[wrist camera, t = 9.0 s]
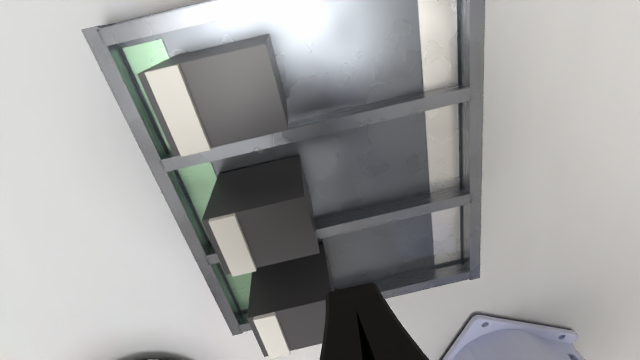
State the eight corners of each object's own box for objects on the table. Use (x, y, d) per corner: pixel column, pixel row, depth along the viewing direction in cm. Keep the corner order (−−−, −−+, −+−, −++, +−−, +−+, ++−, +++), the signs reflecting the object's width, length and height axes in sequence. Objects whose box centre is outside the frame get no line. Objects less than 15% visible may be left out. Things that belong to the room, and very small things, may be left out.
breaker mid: (299, 155, 16) (304, 199, 13) (311, 203, 18) (320, 256, 14) (218, 174, 16) (200, 223, 13) (236, 221, 18) (225, 278, 14)
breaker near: (269, 33, 14) (265, 44, 10) (286, 100, 15) (288, 131, 11) (173, 56, 14) (134, 75, 10) (198, 121, 15) (172, 158, 11)
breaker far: (323, 243, 19) (333, 301, 15) (332, 280, 20) (344, 341, 17) (253, 259, 19) (246, 322, 15) (266, 295, 20) (264, 360, 17)
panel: (460, -58, 14) (486, -66, 12) (463, 255, 22) (479, 277, 20) (106, 26, 14) (81, 29, 12) (236, 308, 22) (232, 335, 20)
